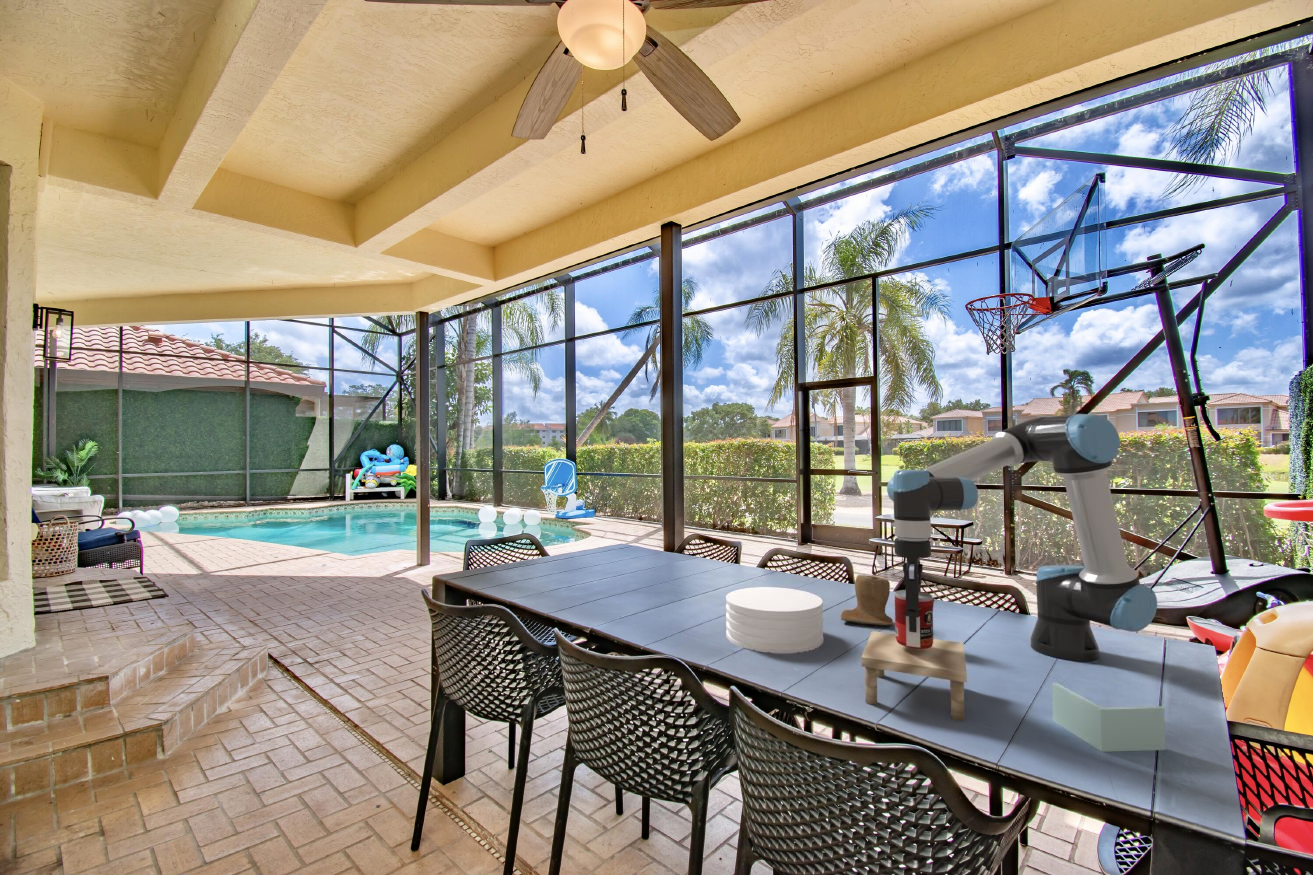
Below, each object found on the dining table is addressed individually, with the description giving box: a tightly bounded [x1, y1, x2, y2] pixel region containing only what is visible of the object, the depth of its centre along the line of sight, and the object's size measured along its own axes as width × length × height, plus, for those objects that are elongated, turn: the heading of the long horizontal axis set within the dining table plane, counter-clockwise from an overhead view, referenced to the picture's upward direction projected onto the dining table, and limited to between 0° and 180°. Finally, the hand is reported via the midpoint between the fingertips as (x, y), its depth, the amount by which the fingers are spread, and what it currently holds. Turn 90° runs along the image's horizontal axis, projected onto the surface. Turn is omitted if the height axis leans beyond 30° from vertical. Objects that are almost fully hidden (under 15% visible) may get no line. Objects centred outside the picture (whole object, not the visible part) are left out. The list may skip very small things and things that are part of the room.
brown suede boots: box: [840, 574, 894, 626], centre depth 182 cm, size 15×12×15 cm
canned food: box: [894, 589, 934, 649], centre depth 128 cm, size 8×8×11 cm
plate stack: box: [725, 586, 824, 654], centre depth 168 cm, size 28×28×12 cm
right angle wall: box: [1051, 682, 1166, 752], centre depth 109 cm, size 12×12×8 cm
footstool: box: [861, 630, 968, 721], centre depth 127 cm, size 20×20×10 cm
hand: (914, 639), depth 128 cm, fingers closed on canned food, 8 cm apart
